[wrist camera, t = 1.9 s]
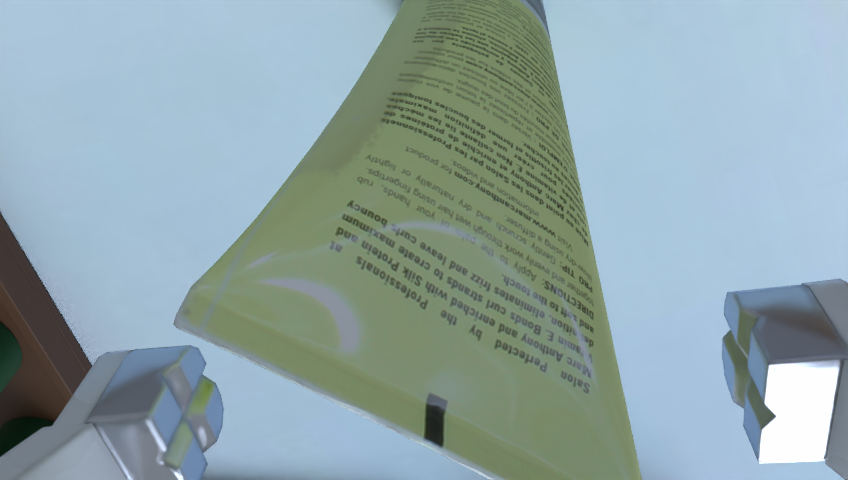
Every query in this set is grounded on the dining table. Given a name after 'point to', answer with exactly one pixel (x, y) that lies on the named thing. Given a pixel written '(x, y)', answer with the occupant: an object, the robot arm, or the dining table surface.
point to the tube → (439, 257)
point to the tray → (35, 341)
